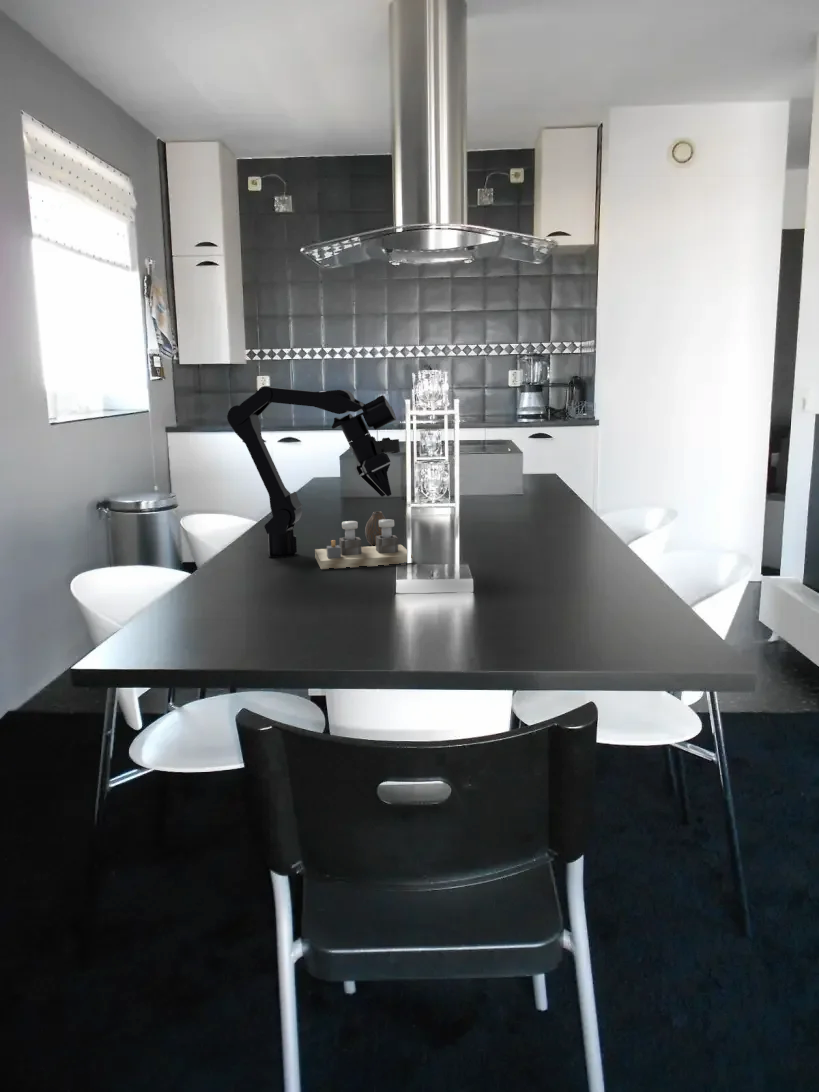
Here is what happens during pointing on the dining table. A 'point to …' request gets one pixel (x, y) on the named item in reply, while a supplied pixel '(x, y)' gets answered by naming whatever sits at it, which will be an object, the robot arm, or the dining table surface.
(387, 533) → the knob
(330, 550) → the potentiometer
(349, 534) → the knob
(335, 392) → the robot arm
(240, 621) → the dining table surface
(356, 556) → the mount board
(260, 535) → the dining table surface
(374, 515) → the vase
